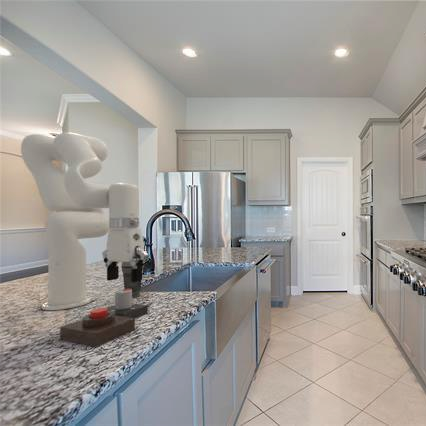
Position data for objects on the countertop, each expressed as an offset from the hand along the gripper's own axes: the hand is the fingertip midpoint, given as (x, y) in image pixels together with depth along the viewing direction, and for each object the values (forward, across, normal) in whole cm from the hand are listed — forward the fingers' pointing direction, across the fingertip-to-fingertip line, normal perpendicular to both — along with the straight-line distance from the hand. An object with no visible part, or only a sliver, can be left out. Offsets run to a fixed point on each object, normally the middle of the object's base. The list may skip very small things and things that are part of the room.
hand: (124, 280), depth 86 cm
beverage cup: (+11, +17, -16) cm, 25 cm away
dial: (+8, +1, 0) cm, 8 cm away
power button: (+6, -6, +12) cm, 15 cm away
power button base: (+11, -6, +12) cm, 17 cm away
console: (+11, +1, 0) cm, 11 cm away
